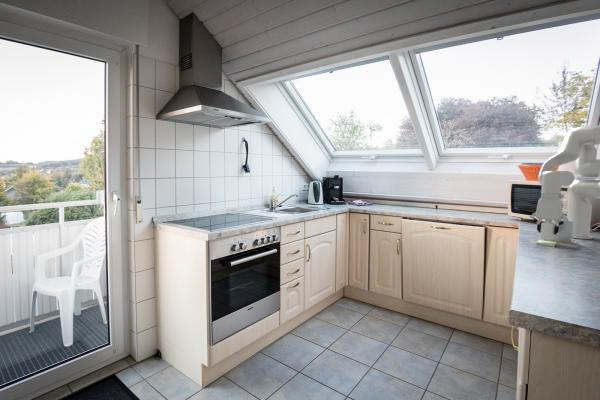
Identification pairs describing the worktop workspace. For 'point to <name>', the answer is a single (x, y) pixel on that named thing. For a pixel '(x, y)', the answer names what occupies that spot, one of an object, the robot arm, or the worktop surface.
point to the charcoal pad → (567, 246)
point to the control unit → (564, 233)
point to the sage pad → (546, 243)
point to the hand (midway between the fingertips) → (547, 232)
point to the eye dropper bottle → (547, 230)
